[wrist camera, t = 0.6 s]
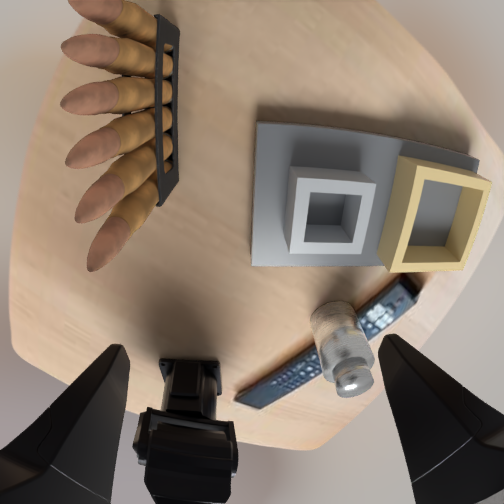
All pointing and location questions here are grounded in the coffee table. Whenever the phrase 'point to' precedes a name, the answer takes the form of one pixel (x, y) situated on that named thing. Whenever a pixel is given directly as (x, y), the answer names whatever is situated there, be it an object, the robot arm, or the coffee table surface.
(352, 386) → the steel fitting
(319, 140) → the board
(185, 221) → the coffee table surface
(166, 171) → the ammunition clip
